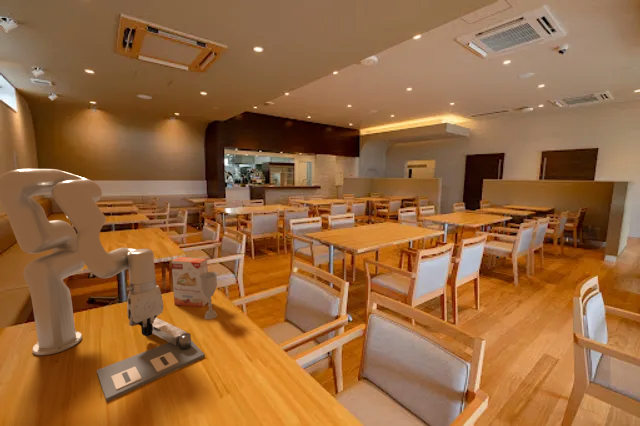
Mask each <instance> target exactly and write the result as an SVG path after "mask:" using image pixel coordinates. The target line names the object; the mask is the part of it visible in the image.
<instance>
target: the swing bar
mask: <svg viewBox="0 0 640 426" xmlns="http://www.w3.org/2000/svg"><path fill="white" fill-rule="evenodd" d="M152 325H153V331H152V335H155V336H157V337H159V338H160V339H163V340H165V341H167V343H168V342H170V343H172V344H174V345H176V346H177V345H179V347H180V349H181V350H186V349H188V348H190V347H191V340H192V337H191V335H192V334H191V333H190V332H187V331H186V330H184V329H182V328H179V327H177V326H175V325H173V324H171V323H169V322H167V321H164V320H163V319H160V318H158V317H156V318H155V320H154V323H153V324H152Z"/></svg>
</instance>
